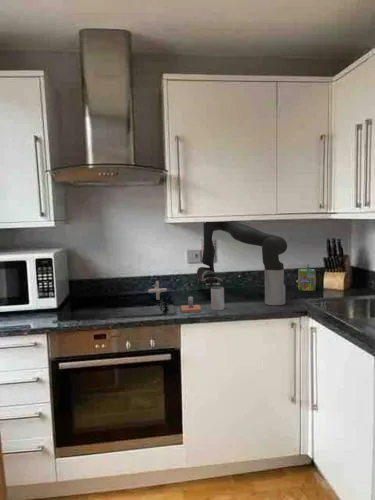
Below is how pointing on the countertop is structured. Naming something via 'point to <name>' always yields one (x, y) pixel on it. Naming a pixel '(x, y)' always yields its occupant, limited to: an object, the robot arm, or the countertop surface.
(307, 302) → the countertop surface
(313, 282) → the chalk box
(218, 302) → the grey cylinder
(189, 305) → the shaft block
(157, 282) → the pipe connector
